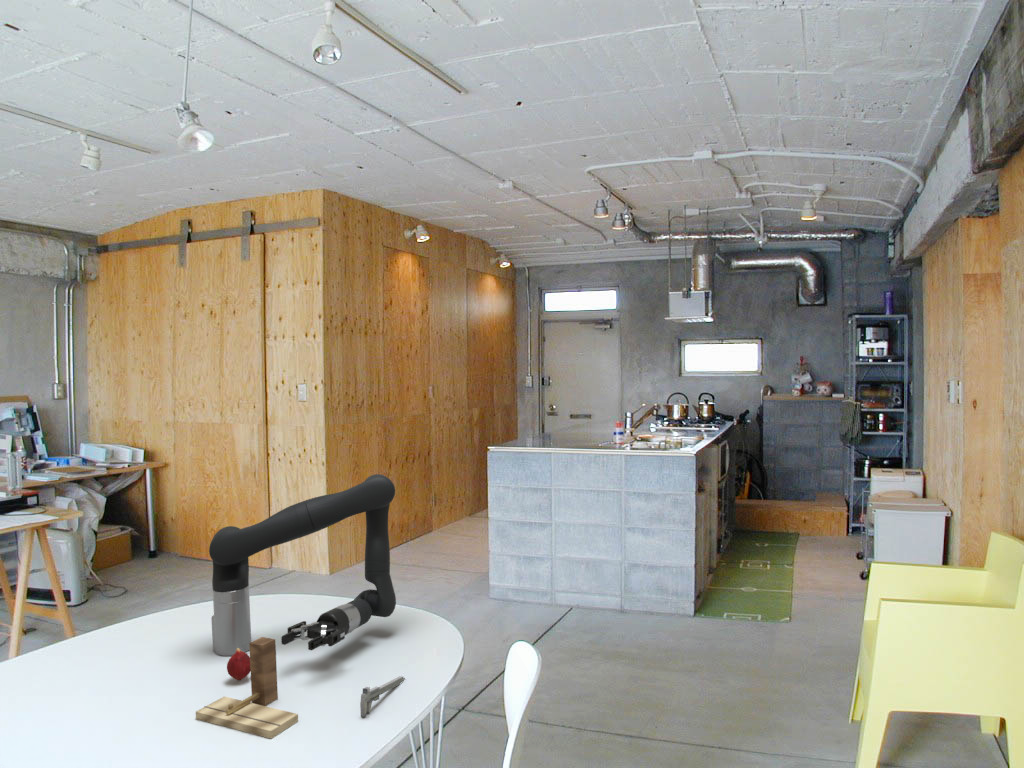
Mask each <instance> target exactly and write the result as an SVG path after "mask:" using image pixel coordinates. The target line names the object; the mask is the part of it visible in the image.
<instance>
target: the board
mask: <svg viewBox="0 0 1024 768" xmlns="http://www.w3.org/2000/svg"><path fill="white" fill-rule="evenodd" d="M241 701H242V700H241V699H237V698H232V697H229V696H221V697H220V698H218V699H217V700H215V701H212V702H211V703H210V704H207V705H206V706H205V705H204V706H203V707H202V708H200V709H198V710H196V711H195V720H197V721H198V720H200V721H202V722H206V723H211V724H214V725H218V726H220V727H225V728H229V729H232V730H233V729H234V730H237V731H241V732H245V733H248V734H252V735H256V736H260V737H264V738H267V739H273V738H275V737H276V736H278V735H279V734H281V733H282V732H283V731H286V730H287V729H289V728H291V727H292V726H293V725H295V724H297V723H298V722H299V713H296V712H295V713H294V712H292V711H291V712H290V711H287V710H283V709H279V708H275V707H270V706H262V705H258V704H254V703H252V702H250V703H248V704H247V705H245V706H243V707H241V708H240V709H238V710H236V711H234V712H233V713H231V714H226V709H228V705H229V704H233V706H234V705H235V704H237V703H239V702H241Z"/></svg>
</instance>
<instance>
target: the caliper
mask: <svg viewBox="0 0 1024 768" xmlns="http://www.w3.org/2000/svg"><path fill="white" fill-rule="evenodd" d="M405 678H406V677H404V676H402V675H401V676H397V677H395V678H393V679H391V680H390V681H388V682H385V683H384V684H382V685H379V686H375V687H372V688H370V687H369V686H365V687H363V688H362V693H361V694H360V707H359V708H360V717H361V718H367V715H368V716H369V715H370V714H371V709H372V705H373V702H376V701H377V700H380V696H381V695H383V694H385V693H386V692H388V691H390V690H393V689H394V688H396V687H397V686H400V685H401V684H402V683H403V682H404V681H405V680H406V679H405ZM404 679H405V680H404ZM402 681H403V682H402ZM401 682H402V683H401ZM400 683H401V684H400ZM399 684H400V685H399Z"/></svg>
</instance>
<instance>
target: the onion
mask: <svg viewBox="0 0 1024 768" xmlns="http://www.w3.org/2000/svg"><path fill="white" fill-rule="evenodd" d="M226 671H227V674H228V675H229V676H230V677H231V678H232V679H234V680H236V681H238V682H241V681H243V680H244V679H245V678H247V676H249V674H251V669H250V655H249V654H248V653H246V652H242V651H241V650H240V649H239V648H237V650H236V653H235V654H234V655H231V656H230V658H229V660H228V661H227V663H226Z"/></svg>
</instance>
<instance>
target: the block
mask: <svg viewBox="0 0 1024 768" xmlns="http://www.w3.org/2000/svg"><path fill="white" fill-rule="evenodd" d="M249 647H250V649H249V657H250V669H251V671H250V687H251V688H250V689H251V695H250V696H248V697H247V698H245V699H243V700H241V702H239V703H237V704H235V705H234V706H233V704H229V705H228V709H226V714H231V713H233V712H234V711H236V710H238V709H240V708H241V707H243V706H245V705H247V704H248V703H254V704H258V705H262V706H266V707H268V705H270V704H272V703H273V702H275V701H276V700H278V698H279V695H278V694H279V692H278V671H277V667H278V666H277V652H276V651H277V649H276V647H277V646H276V639H275V638H271V637H265V636H261V637H258V638H257V639H255V640H253V641H251V642H250V643H249Z"/></svg>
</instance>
